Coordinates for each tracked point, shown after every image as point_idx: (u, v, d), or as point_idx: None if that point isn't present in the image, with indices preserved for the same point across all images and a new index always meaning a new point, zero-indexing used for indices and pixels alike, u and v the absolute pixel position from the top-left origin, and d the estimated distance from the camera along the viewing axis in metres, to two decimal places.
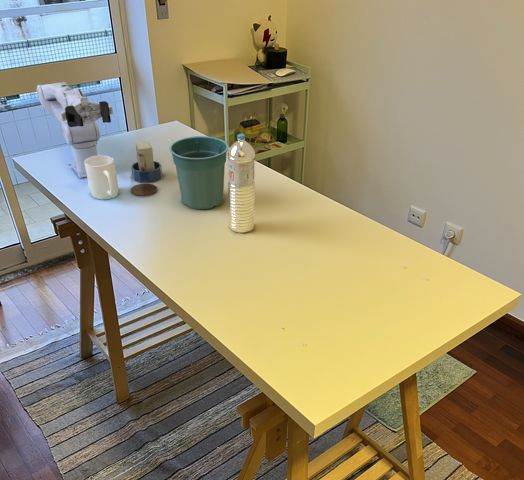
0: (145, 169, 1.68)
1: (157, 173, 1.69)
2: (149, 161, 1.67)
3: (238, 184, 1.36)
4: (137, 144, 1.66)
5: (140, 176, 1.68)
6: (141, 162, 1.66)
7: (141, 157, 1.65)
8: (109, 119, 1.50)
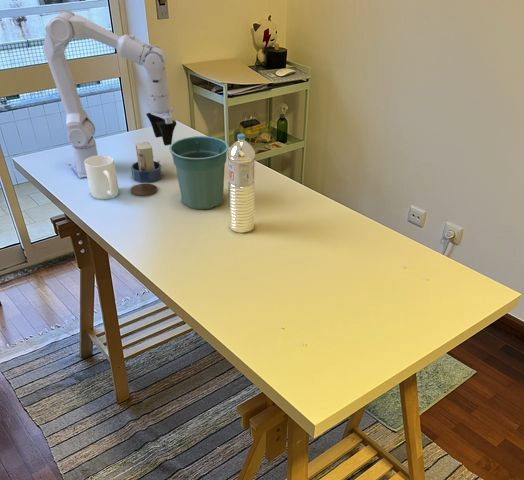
0: (145, 169, 1.68)
1: (157, 173, 1.69)
2: (149, 161, 1.67)
3: (238, 184, 1.36)
4: (137, 144, 1.66)
5: (140, 176, 1.68)
6: (141, 162, 1.66)
7: (141, 157, 1.65)
8: None
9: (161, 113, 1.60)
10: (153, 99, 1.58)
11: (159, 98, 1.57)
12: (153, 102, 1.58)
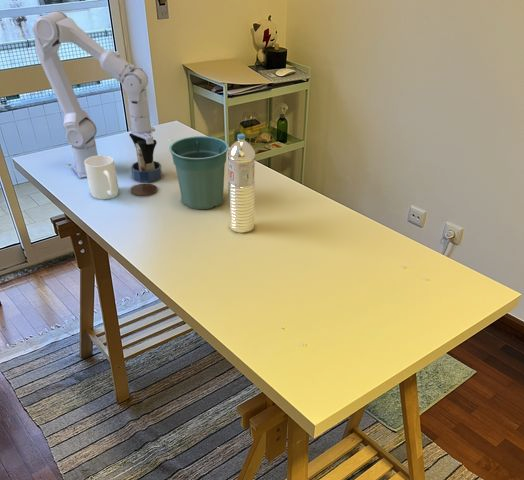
0: (145, 169, 1.68)
1: (157, 173, 1.69)
2: None
3: (238, 184, 1.36)
4: (137, 144, 1.66)
5: (140, 176, 1.68)
6: (141, 162, 1.66)
7: (141, 157, 1.65)
8: None
9: (142, 133, 1.61)
10: (134, 120, 1.58)
11: (140, 119, 1.58)
12: (134, 123, 1.59)
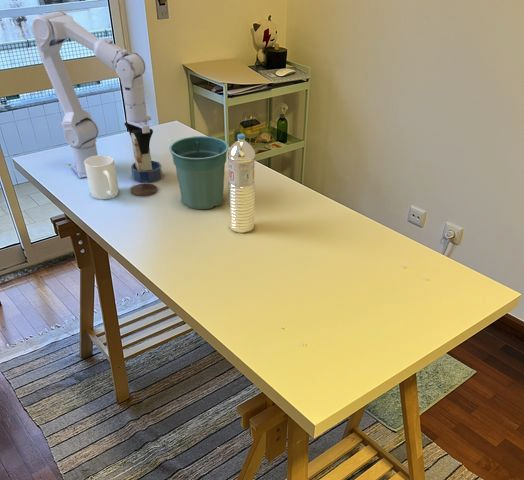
0: (141, 160, 1.61)
1: (157, 173, 1.69)
2: None
3: (238, 184, 1.36)
4: (133, 133, 1.59)
5: (140, 176, 1.68)
6: (137, 152, 1.59)
7: (137, 147, 1.58)
8: None
9: (138, 122, 1.53)
10: (129, 107, 1.51)
11: (135, 106, 1.51)
12: (130, 111, 1.52)
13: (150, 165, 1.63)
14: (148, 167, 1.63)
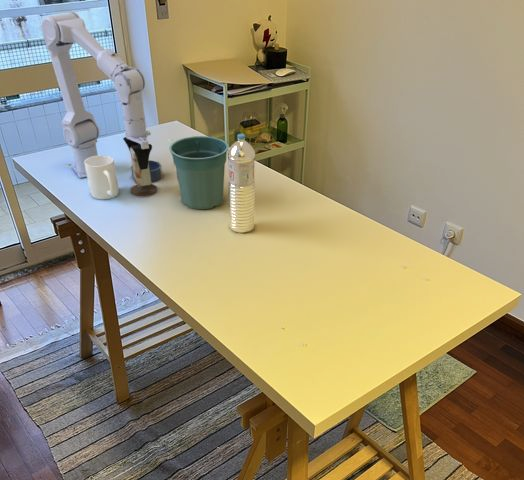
0: (140, 175, 1.59)
1: (157, 173, 1.69)
2: None
3: (238, 184, 1.36)
4: None
5: None
6: (136, 167, 1.57)
7: (136, 162, 1.56)
8: None
9: (137, 137, 1.51)
10: (128, 123, 1.49)
11: (134, 122, 1.48)
12: (129, 126, 1.49)
13: (149, 180, 1.61)
14: (147, 182, 1.61)
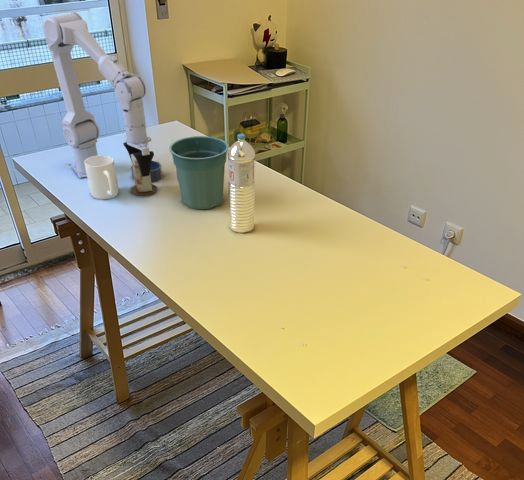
0: (141, 181, 1.60)
1: (157, 173, 1.69)
2: None
3: (238, 184, 1.36)
4: (132, 155, 1.58)
5: None
6: (137, 174, 1.58)
7: (137, 169, 1.57)
8: None
9: (138, 144, 1.52)
10: (129, 129, 1.50)
11: (135, 128, 1.50)
12: (130, 133, 1.51)
13: (150, 186, 1.62)
14: (148, 189, 1.62)
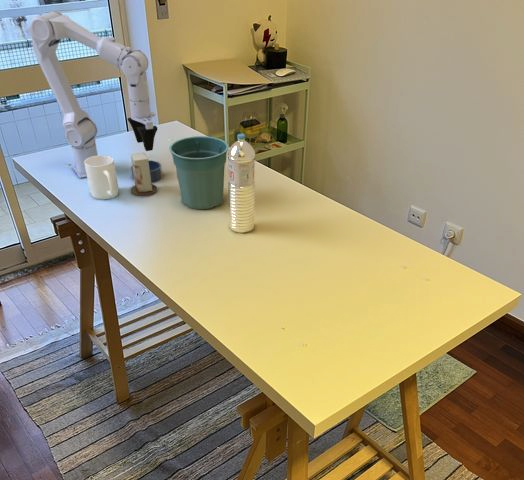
0: (141, 181, 1.60)
1: (157, 173, 1.69)
2: (145, 172, 1.59)
3: (238, 184, 1.36)
4: (132, 155, 1.58)
5: None
6: (137, 174, 1.58)
7: (137, 169, 1.57)
8: None
9: (142, 118, 1.56)
10: (133, 104, 1.54)
11: (139, 103, 1.54)
12: (134, 107, 1.55)
13: (150, 186, 1.62)
14: (148, 189, 1.62)
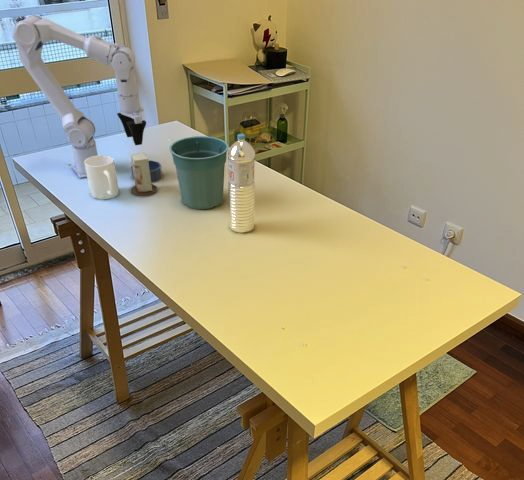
0: (141, 181, 1.60)
1: (157, 173, 1.69)
2: (145, 172, 1.59)
3: (238, 184, 1.36)
4: (132, 155, 1.58)
5: None
6: (137, 174, 1.58)
7: (137, 169, 1.57)
8: None
9: (131, 113, 1.59)
10: (122, 99, 1.57)
11: (128, 98, 1.57)
12: (123, 102, 1.58)
13: (150, 186, 1.62)
14: (148, 189, 1.62)
